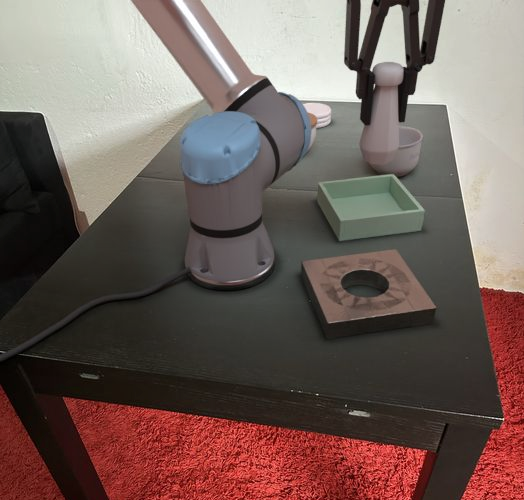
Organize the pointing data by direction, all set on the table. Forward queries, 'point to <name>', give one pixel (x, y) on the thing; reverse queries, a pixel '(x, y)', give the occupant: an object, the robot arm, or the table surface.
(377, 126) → the salt shaker
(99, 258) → the table surface
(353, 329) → the drain plate
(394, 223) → the green square tray
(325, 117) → the coaster
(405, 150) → the teacup
